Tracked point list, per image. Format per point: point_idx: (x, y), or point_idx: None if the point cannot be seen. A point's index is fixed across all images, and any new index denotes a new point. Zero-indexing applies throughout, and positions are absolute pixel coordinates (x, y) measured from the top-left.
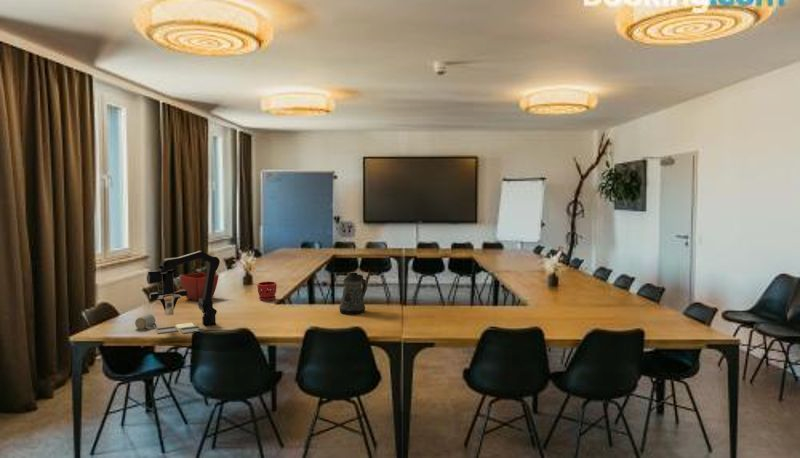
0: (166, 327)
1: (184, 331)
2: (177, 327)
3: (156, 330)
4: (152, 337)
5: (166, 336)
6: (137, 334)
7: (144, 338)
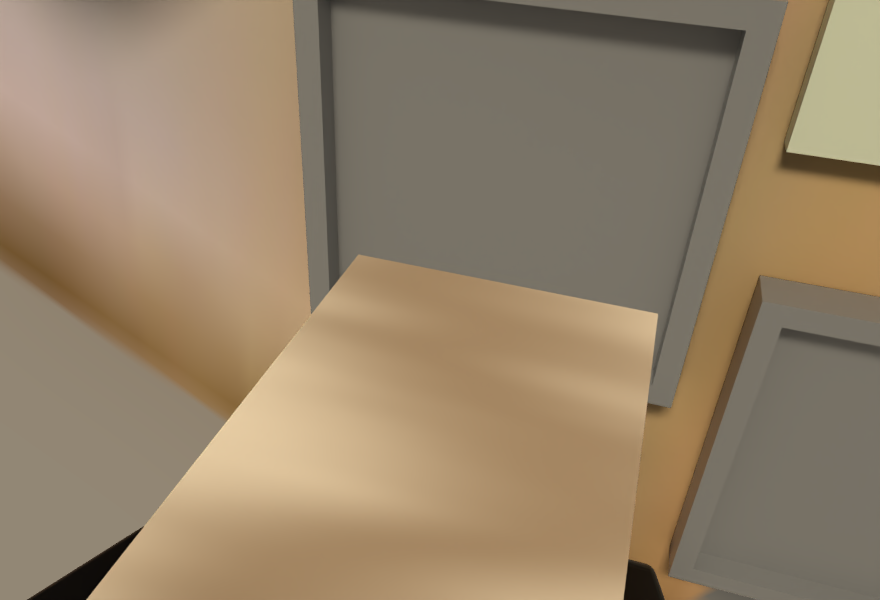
0: (541, 5)
1: (764, 464)
2: (813, 75)
3: (303, 128)
4: (246, 379)
5: None
6: (11, 46)
7: (147, 354)
